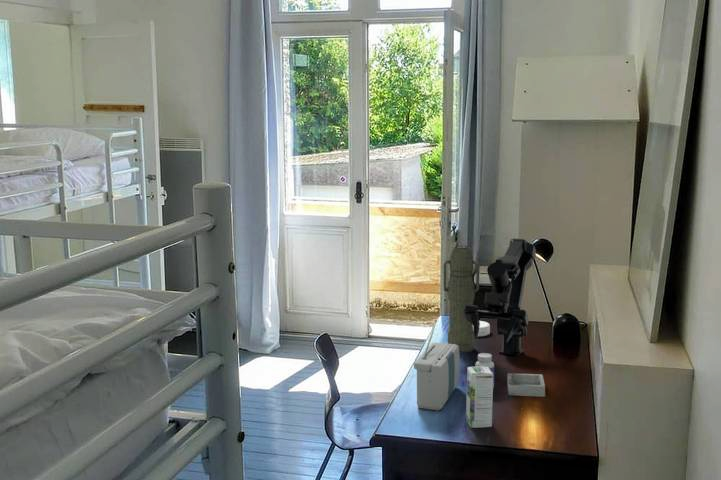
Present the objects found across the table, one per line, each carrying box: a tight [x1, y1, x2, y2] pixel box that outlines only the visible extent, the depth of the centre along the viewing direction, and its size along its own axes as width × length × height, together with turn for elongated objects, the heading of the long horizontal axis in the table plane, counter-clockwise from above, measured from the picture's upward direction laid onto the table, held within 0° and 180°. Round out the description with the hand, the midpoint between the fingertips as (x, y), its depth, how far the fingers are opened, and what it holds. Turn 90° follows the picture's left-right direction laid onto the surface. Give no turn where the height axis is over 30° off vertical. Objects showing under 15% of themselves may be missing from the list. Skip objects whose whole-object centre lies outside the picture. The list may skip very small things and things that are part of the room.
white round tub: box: [473, 320, 491, 338], centre depth 280 cm, size 10×10×4 cm
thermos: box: [443, 245, 481, 354], centre depth 258 cm, size 9×12×35 cm
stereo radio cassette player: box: [413, 320, 461, 412], centre depth 216 cm, size 21×8×20 cm, turn 160°
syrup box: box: [465, 366, 494, 429], centre depth 198 cm, size 6×6×14 cm
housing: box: [507, 372, 546, 398], centre depth 222 cm, size 10×10×3 cm
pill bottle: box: [474, 352, 495, 388], centre depth 225 cm, size 5×5×10 cm
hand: (490, 340), depth 229 cm, fingers open, 9 cm apart
